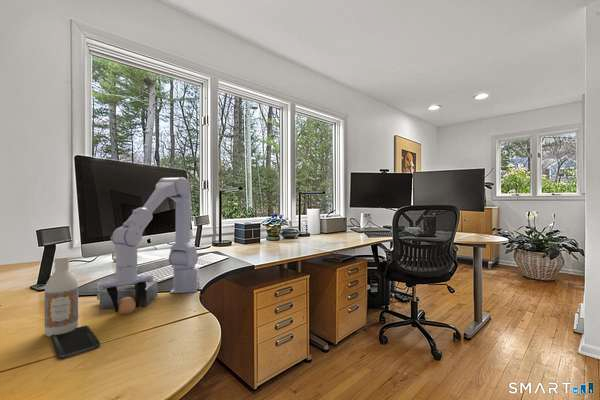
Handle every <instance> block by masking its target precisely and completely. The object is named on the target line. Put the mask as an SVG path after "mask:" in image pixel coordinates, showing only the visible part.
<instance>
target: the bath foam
mask: <svg viewBox="0 0 600 400" xmlns="http://www.w3.org/2000/svg"><path fill="white" fill-rule="evenodd" d="M69 268H70V256H67V255H66V256H65V255H63V256H56V257H55V258H54V272H53V273H52V275H50V277H49V279H48V280H47V281H46V284H45V286H44V287H45V288H44V334H45V336H47V337H50V338H51V335H59V334H63V333H67V332H70V331H72V330H74V329H75V328H78V327H79V282H78V280H77V277H76V276H75V275H74V274H73V273H72V271H71V270H70V269H69Z"/></svg>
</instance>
